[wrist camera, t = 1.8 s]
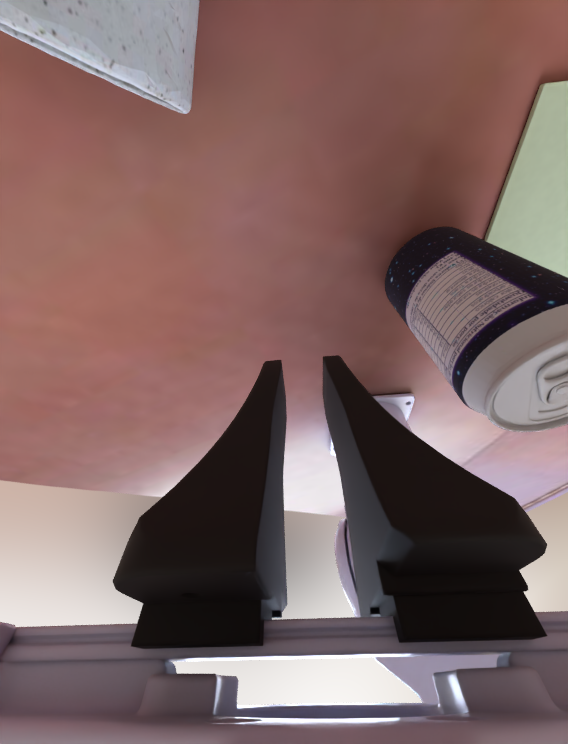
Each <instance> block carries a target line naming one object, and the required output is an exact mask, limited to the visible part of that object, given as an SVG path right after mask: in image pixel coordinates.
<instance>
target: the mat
mask: <svg viewBox="0 0 568 744" xmlns="http://www.w3.org/2000/svg"><path fill="white" fill-rule="evenodd" d="M484 241H486V242H488V243H491V244H493V245H495V246H497V247H500V248H502V249H504V250H506V251H509V252H511V253H513V254H515V255H518V256H520V257H522V258H525V259H527V260H529V261H531V262H534V263H536V264H538V265H540V266H543V267H545V268H547V269H549V270H552V271H554V272H556V273H558V274H561V275H563V276H565V277H567V278H568V81H560V82H552V83H544V84H541V85H540V87H539V90H538V93H537V96H536V98H535V101H534V104H533V107H532V109H531V112H530V115H529V118H528V120H527V123H526V126H525V129H524V131H523V134H522V137H521V140H520V142H519V145H518V148H517V151H516V153H515V156H514V159H513V162H512V164H511V167H510V170H509V173H508V175H507V178H506V181H505V184H504V186H503V189H502V192H501V195H500V197H499V200H498V203H497V206H496V208H495V211H494V214H493V217H492V219H491V222H490V225H489V228H488V230H487V233H486V236H485V239H484Z"/></svg>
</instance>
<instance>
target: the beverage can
mask: <svg viewBox="0 0 568 744" xmlns="http://www.w3.org/2000/svg"><path fill="white" fill-rule="evenodd" d="M385 291H386V294H387V297H388V299H389V301H390V302H391V304H392V305H393V306H394V308H395V309H396V310H397V312H398V313H399V315H400V316H401V317H402V319H403V320H404V321H405V323H406V324H407V326H408V327H409V328H410V330H411V331H412V333H413V334H414V335H415V337H416V338H417V339H418V341H419V342H420V344H421V345H422V346H423V348H424V349H425V350H426V352H427V353H428V355H429V356H430V357H431V359H432V360H433V362H434V363H435V364H436V366H437V367H438V368H439V370H440V371H441V373H442V374H443V375H444V377H445V378H446V379H447V381H448V382H449V384H450V385H451V386H452V388H453V389H454V390H455V392H456V393H457V395H458V396H459V397H460V399H461V400H462V402H463V403H464V404H465V405H466V406H468V407H469V408H471V409H473V410H474V411H476V412H479V413H481V414H483V415H485V416H487V417H488V419H489V420H490V421H491V422H492V423H493V424H494V425H496V426H498V427H499V428H502V429H505V430H509V431H514V432H535V431H543V430H548V429H553V428H557V427H561V426H564V425H568V278H567V277H565V276H563V275H561V274H558V273H556V272H554V271H552V270H549V269H547V268H545V267H543V266H540V265H538V264H536V263H534V262H531V261H529V260H527V259H525V258H522V257H520V256H518V255H515V254H513V253H511V252H509V251H506V250H504V249H502V248H500V247H497V246H495V245H493V244H491V243H488V242H486V241H484V240H482V239H479V238H477V237H475V236H473V235H470V234H468V233H466V232H464V231H461V230H459V229H456V228H452V227H438V228H433V229H430V230H427V231H425V232H422V233H420V234H418V235H417V236H415V237H414V238H412V239H411V240H410V241H408V242H407V243H406V244H405V245H404V246H403V247H402V248H401V249H400V250H399V251H398V252H397V254H396V255H395V257H394V258H393V260H392V261H391V263H390V265H389V268H388V270H387V274H386V278H385Z"/></svg>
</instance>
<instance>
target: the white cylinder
mask: <svg viewBox="0 0 568 744" xmlns="http://www.w3.org/2000/svg"><path fill="white" fill-rule="evenodd" d="M199 1H200V0H0V30H1V31H3V32H5V33H7V34H9V35H11V36H13V37H15V38H17V39H19V40H21V41H23V42H25V43H28V44H30V45H32V46H34V47H36V48H38V49H40V50H42V51H44V52H46V53H48V54H50V55H52V56H55V57H57V58H60V59H62V60H64V61H66V62H68V63H70V64H72V65H74V66H76V67H78V68H80V69H82V70H84V71H86V72H88V73H91V74H94V75H97V76H99V77H101V78H103V79H105V80H107V81H109V82H111V83H113V84H115V85H117V86H119V87H121V88H124V89H126V90H128V91H131V92H133V93H135V94H137V95H140V96H142V97H143V98H145V99H148V100H151V101H153V102H155V103H158V104H160V105H163V106H165V107H167V108H169V109H172V110H175V111H177V112H179V113H184V114H186V113H188V112H189V111H190V109H191V102H192V89H193V74H194V60H195V48H196V36H197V25H198V13H199Z"/></svg>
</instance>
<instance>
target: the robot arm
mask: <svg viewBox="0 0 568 744" xmlns="http://www.w3.org/2000/svg"><path fill="white" fill-rule="evenodd" d="M323 399H324V407H325V414H326V419H327V423H328V427H329V431H330V435H331V439H330V454H331V455H334V456H335V455H336V458H337V462H338V466H339V471H340V476H341V482H342V489H343V495H344V501H345V506H344V507H345V513H346V519H342V520H341V521H340V522H339V524H338V528H337V530H336V534H335V555H336V563H337V568H338V573H339V576H340V580H341V584H342V587H343V590H344V593H345V595H346V598H347V600H348V602H349V603H350V605H351V607H352V610H353V612H354V615H355V617H354V618H321V619H320V618H318V619H287V620H286V619H285V620H272V618H281V617H282V612H283V610H284V608H285V607H286V606H287V588H286V587H287V586H286V562H285V537H284V536H285V533H284V500H283V464H284V450H285V435H286V419H287V417H286V395H285V387H284V379H283V371H282V363H281V360H274V361H266V362H265V363H264V364H263V367H262V369H261V372H260V374H259V376H258V378H257V380H256V382H255V385H254V386H253V388H252V390H251V392H250V394H249V396H248V397H247V399H246V401H245V403H244V404H243V406H242V407H241V409H240V410H239V412H238V414H237V415H236V417H235V418H234V420H233V421H232V423H231V424H230V425H229V427H228V428H227V429H226V431H225V432H224V433H223V435H222V436H221V437H220V438H219V440H218V441H217V442H216V443H215V444H214V446H213V447H212V448H211V449H210V450H209V452H208V453H207V454H206V455H205V456H204V457H203V458H202V459H201V460H200V462H199V463H198V464H197V465H196V466H195V467H194V468H193V469H192V470H191V471H190V472H189V473H188V474H187V475H186V476H185V477H184V478H183V479H182V480H181V481H180V482H179V483H178V484H177V485H176V486H175V487H174V488H173V489H171V490H170V491H169V492H168V493H167V494H166V495H165V496H164V497H162V498H161V499H160V500H159V501H158V502H157V503H156V504H155V505H153V506H152V507H151V508H150V509H149V510H148V511H147V512H145V513H144V514H143V515H142V516H141V517H140V518H139V520H138V523H137V524H136V526H135V528H134V530H133V532H132V534H131V536H130V538H129V541H128V543H127V546H126V548H125V551H124V554H123V556H122V559H121V561H120V564H119V566H118V569H117V571H116V574H115V577H114V579H113V583H114V586H115V588H116V590H118V591H119V592H121V593H123V594H125V595H127V596H129V597H131V598H133V599H135V600H138V601H140V602H142V603H144V604H143V607H142V610H141V614H140V617H139V620H138V623H137V624H113V625H111V624H110V625H75V626H41V627H15V625H12V624H8V623H2V622H0V744H568V611H564V612H563V611H561V612H534V610H533V609H532V607H531V605H530V603H529V601H528V599H527V598H526V596H525V594H524V592H523V591H527V590H528V586H527V584H526V582H525V580H524V578H523V577H522V575H521V573H520V571H519V570H520V569H521V568H523V567H525V566H526V565H528V564H530V563H531V562H533V561H535V560H537V559H538V558H540V556H542V555H543V554H544V553H545V550H546V547H547V543H546V542H545V540H544V539H543V537H542V536H541V534H540V533H539V531H538V530H537V528H536V527H535V526H534V524H533V522H532V521H531V519H530V518H529V516H528V515H527V514H526V512H525V511H524V510H523V509H522V507H521V506H520V505H519V503H518V502H517V501H516V499H515V498H513V497H512V496H510V495H508V494H506V493H505V492H503V491H501V490H499V489H498V488H496V487H494V486H492V485H491V484H489V483H487V482H486V481H484V480H482V479H480V478H479V477H477V476H475V475H473V474H472V473H470V472H468V471H467V470H465V469H464V468H462V467H460V466H459V465H457V464H456V463H454V462H453V461H451V460H450V459H448V458H446V457H445V456H443V455H442V454H441V453H439V452H438V451H436V450H435V449H434V448H432V447H431V446H430V445H428V444H427V443H425V442H424V441H423V440H421V439H420V438H418V437H417V436H416V435H415V434H413V433H412V431H411V429H410V427H409V425H408V423H407V421H408V418H409V415H410V412H411V409H412V406H413V403H414V399H415V397H414V395H413V394H395V395H381V396H372V395H371V394H370V393H369V392H368V391H367V390H366V389H365V387H364V386H363V385H362V384H361V383H360V382H359V381H358V379H357V378H356V377H355V376H354V374H353V373H352V372H351V371H350V369H349V368H348V367H347V365H346V364H345V363H344V361H343V360H342V358H341V357H340V356H339V355H338V356H325V357H323ZM353 657H354V658H355V657H373V658H374V659H375V660H376V661H377V662H379V663H380V664H381V665H382V666H383V667H385V668H386V669H387V670H388V671H390V672H391V673H392V674H393V675H394V676H396V677H397V678H398V679H399V680H401V681H402V682H403V683H404V684H406V685H407V686H408V687H409V688H410V689H411V690H412V691H414V692H415V693H416V694H417V695H418V696H419V698H420V699H421V701H422V703H327V704H325V703H324V704H279V705H240V706H237V689H238V679H237V677H236V676H221V675H216V674H177V673H176V668H175V666H174V664H173V663H172V662H170V661H214V660H260V659H261V660H262V659H308V658H353Z"/></svg>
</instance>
